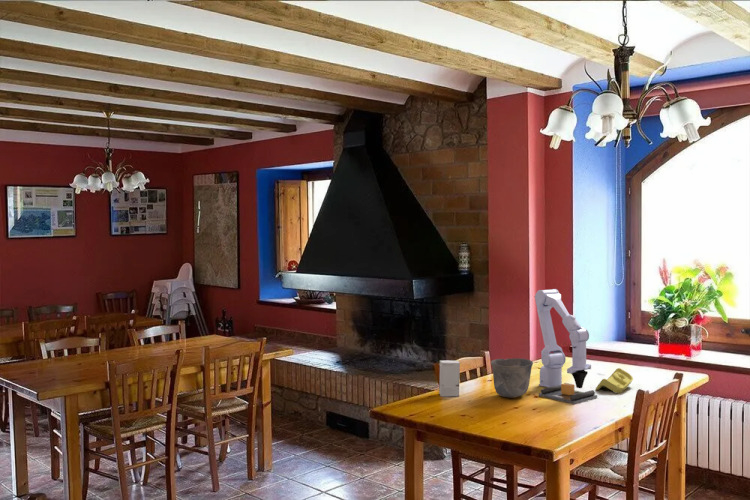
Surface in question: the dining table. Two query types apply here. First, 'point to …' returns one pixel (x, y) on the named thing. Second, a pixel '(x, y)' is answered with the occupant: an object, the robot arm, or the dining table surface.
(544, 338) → the robot arm
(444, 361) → the skincare box
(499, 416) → the dining table surface
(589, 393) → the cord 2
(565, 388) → the toggle
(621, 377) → the plastic component
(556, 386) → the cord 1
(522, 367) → the gray stone pot
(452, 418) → the dining table surface
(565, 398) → the panel
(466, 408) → the dining table surface
